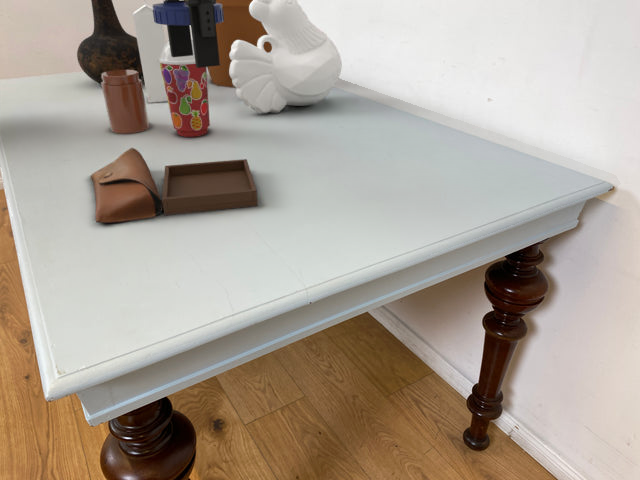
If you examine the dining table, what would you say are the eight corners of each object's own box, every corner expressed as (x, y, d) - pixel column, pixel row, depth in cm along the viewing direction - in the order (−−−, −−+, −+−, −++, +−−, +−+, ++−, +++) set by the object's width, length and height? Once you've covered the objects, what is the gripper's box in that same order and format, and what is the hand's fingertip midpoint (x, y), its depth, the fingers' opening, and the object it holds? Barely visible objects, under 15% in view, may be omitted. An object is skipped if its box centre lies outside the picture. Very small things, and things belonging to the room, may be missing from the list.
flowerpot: (269, 67, 151) (264, -18, 139) (313, 84, 130) (312, -14, 119) (181, 76, 139) (168, -16, 127) (214, 96, 118) (202, -11, 106)
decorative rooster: (334, 65, 118) (266, -24, 106) (364, 63, 104) (290, -40, 92) (264, 137, 117) (188, 55, 105) (285, 145, 103) (200, 51, 91)
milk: (148, 103, 113) (128, -2, 101) (148, 97, 118) (130, -4, 106) (175, 101, 114) (158, -3, 103) (174, 95, 119) (158, -5, 108)
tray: (164, 215, 63) (161, 199, 61) (167, 179, 73) (165, 165, 72) (257, 205, 65) (256, 190, 64) (247, 172, 75) (246, 158, 74)
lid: (221, 18, 62) (220, 1, 61) (225, 24, 55) (224, 6, 54) (156, 19, 60) (154, 2, 59) (152, 26, 53) (149, 7, 52)
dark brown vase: (157, 75, 141) (140, -35, 126) (146, 88, 125) (125, -35, 111) (94, 76, 138) (68, -36, 124) (75, 90, 123) (44, -35, 109)
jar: (109, 134, 92) (96, 77, 86) (113, 124, 98) (101, 70, 92) (148, 132, 93) (138, 75, 88) (150, 121, 99) (141, 68, 94)
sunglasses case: (86, 174, 73) (101, 134, 72) (132, 189, 77) (147, 151, 76) (95, 224, 59) (114, 176, 58) (150, 239, 63) (170, 195, 62)
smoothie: (214, 125, 97) (202, 17, 87) (215, 138, 90) (202, 21, 80) (171, 127, 96) (154, 17, 86) (169, 141, 89) (150, 23, 79)
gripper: (244, -195, 43) (260, 70, 54) (167, -154, 58) (192, 47, 69) (160, -210, 39) (196, 78, 51) (102, -162, 54) (140, 52, 66)
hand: (194, 60), depth 60 cm, fingers closed on lid, 8 cm apart
